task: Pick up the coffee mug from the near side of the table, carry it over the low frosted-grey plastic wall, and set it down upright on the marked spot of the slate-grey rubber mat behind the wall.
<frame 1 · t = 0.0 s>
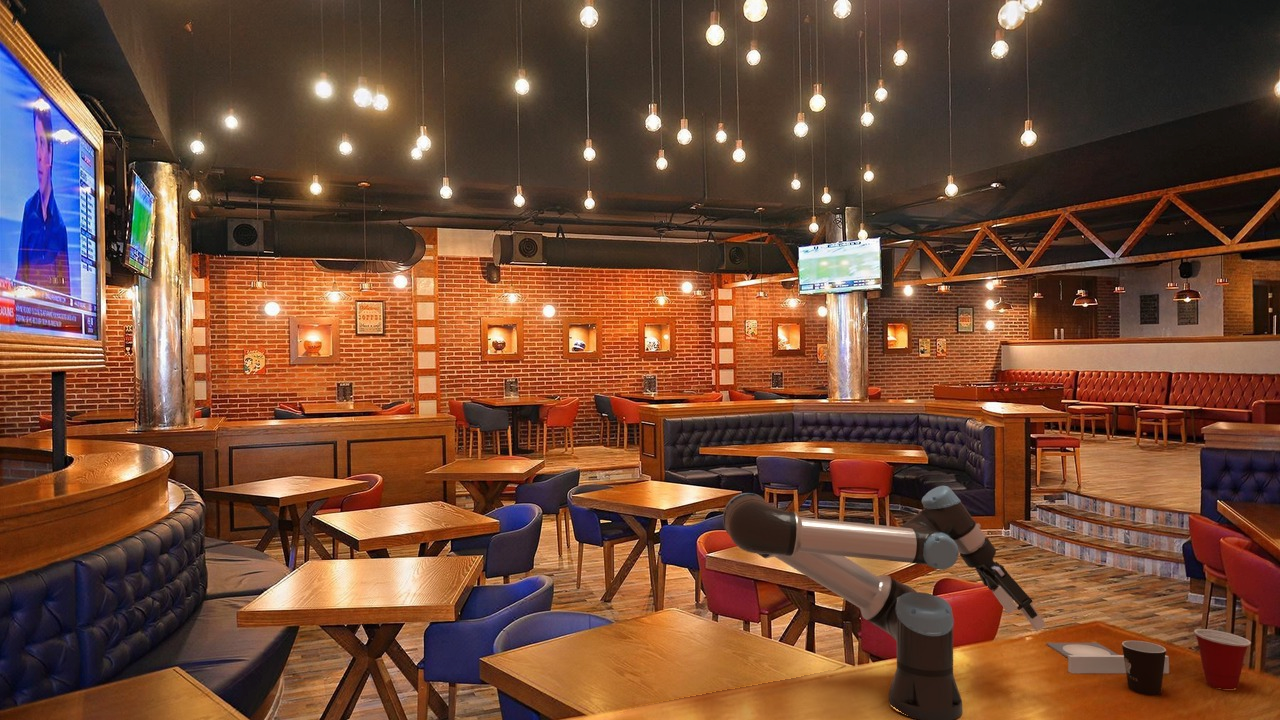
hand: (1026, 618, 188), 15 cm above the table, tool tilted 35°, fingers open, 13 cm apart
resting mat: (1086, 653, 209), on the table
plastic cup: (1223, 687, 186), on the table
low wall: (1118, 672, 195), on the table
coffee mug: (1144, 689, 185), on the table
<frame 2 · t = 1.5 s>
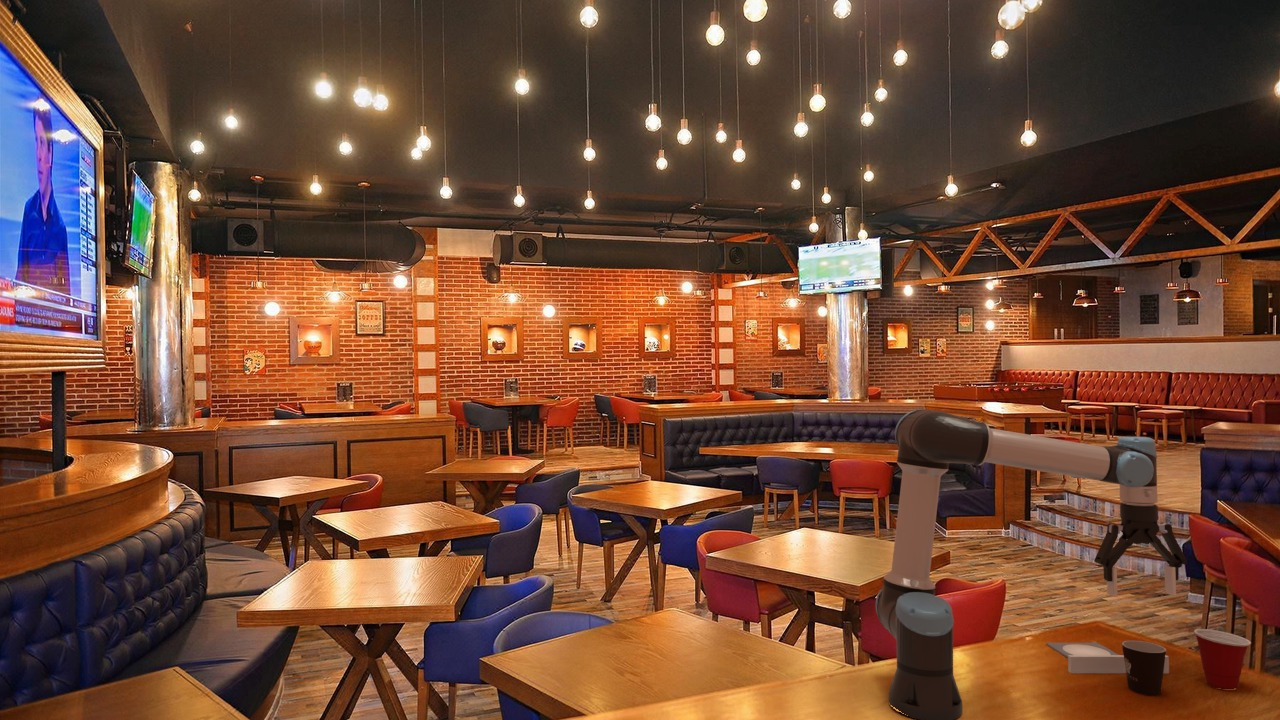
hand: (1141, 594, 186), 21 cm above the table, tool pointing down, fingers open, 13 cm apart
nothing on the table moved.
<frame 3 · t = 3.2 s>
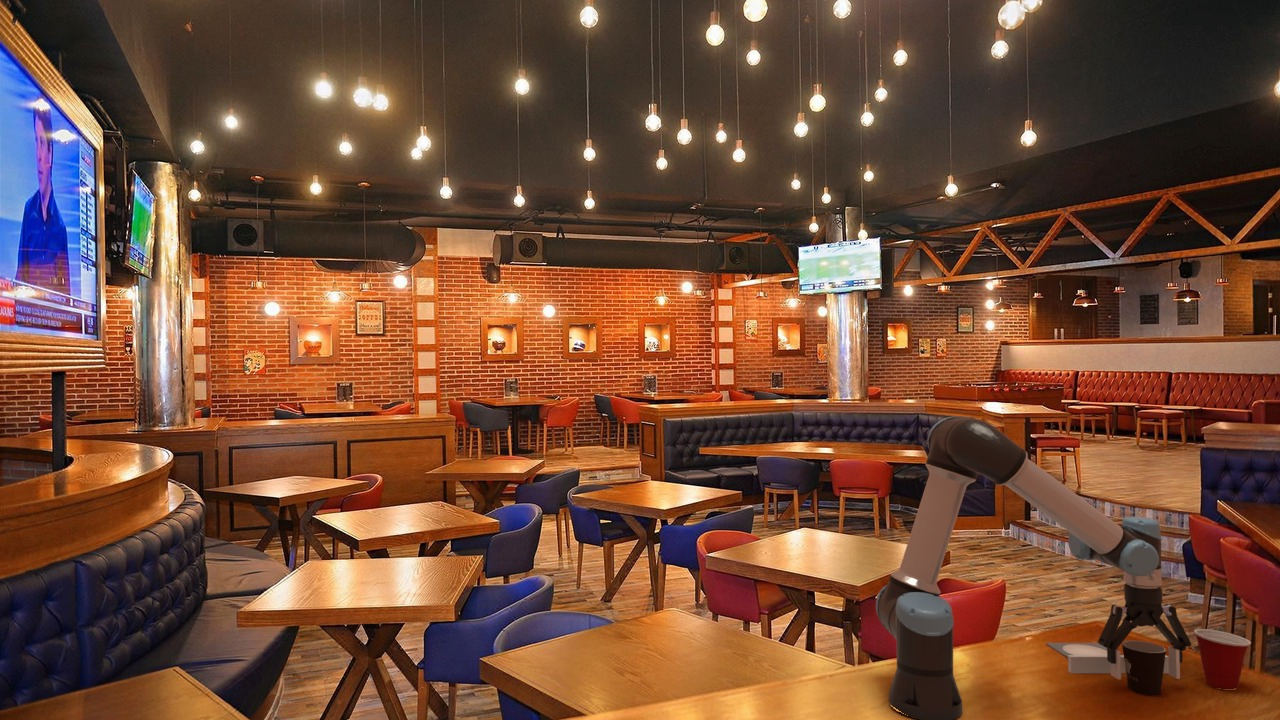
hand: (1145, 677, 185), 3 cm above the table, tool pointing down, fingers open, 13 cm apart
nothing on the table moved.
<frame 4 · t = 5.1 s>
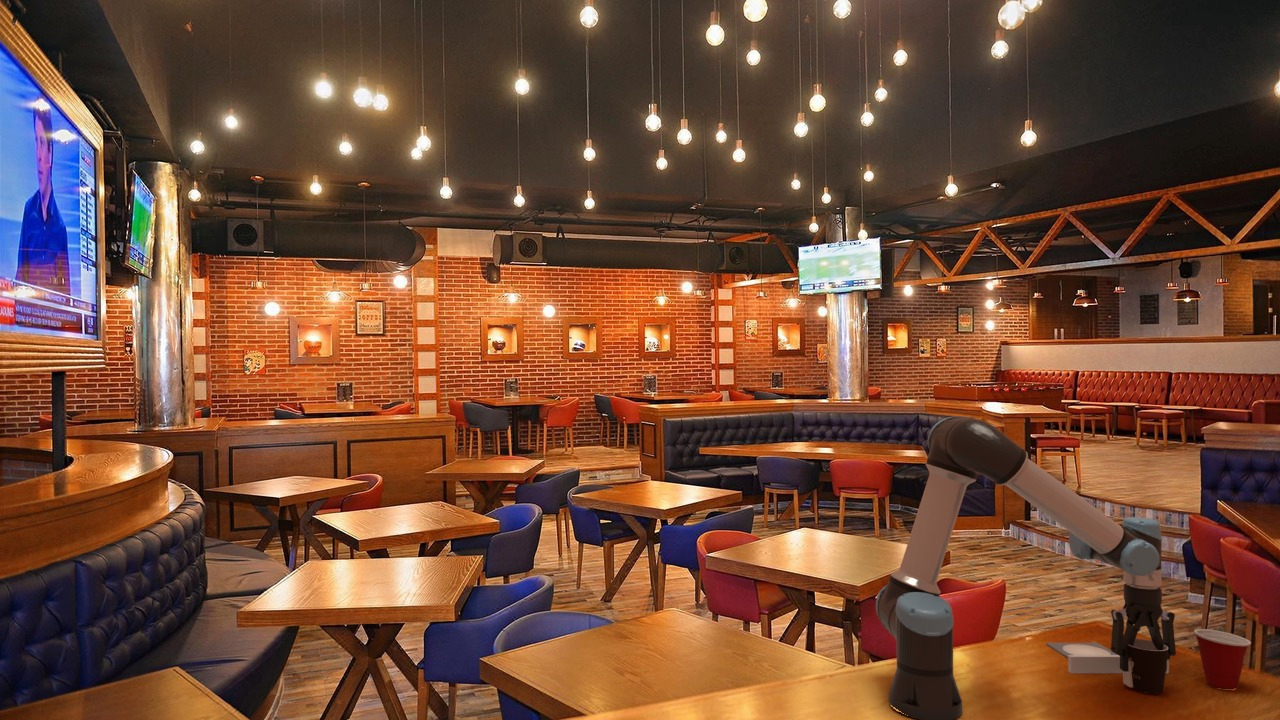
hand: (1143, 685, 185), 1 cm above the table, tool pointing down, fingers closed on coffee mug, 6 cm apart
coffee mug: (1146, 687, 185), on the table, touching gripper
everything else where it was.
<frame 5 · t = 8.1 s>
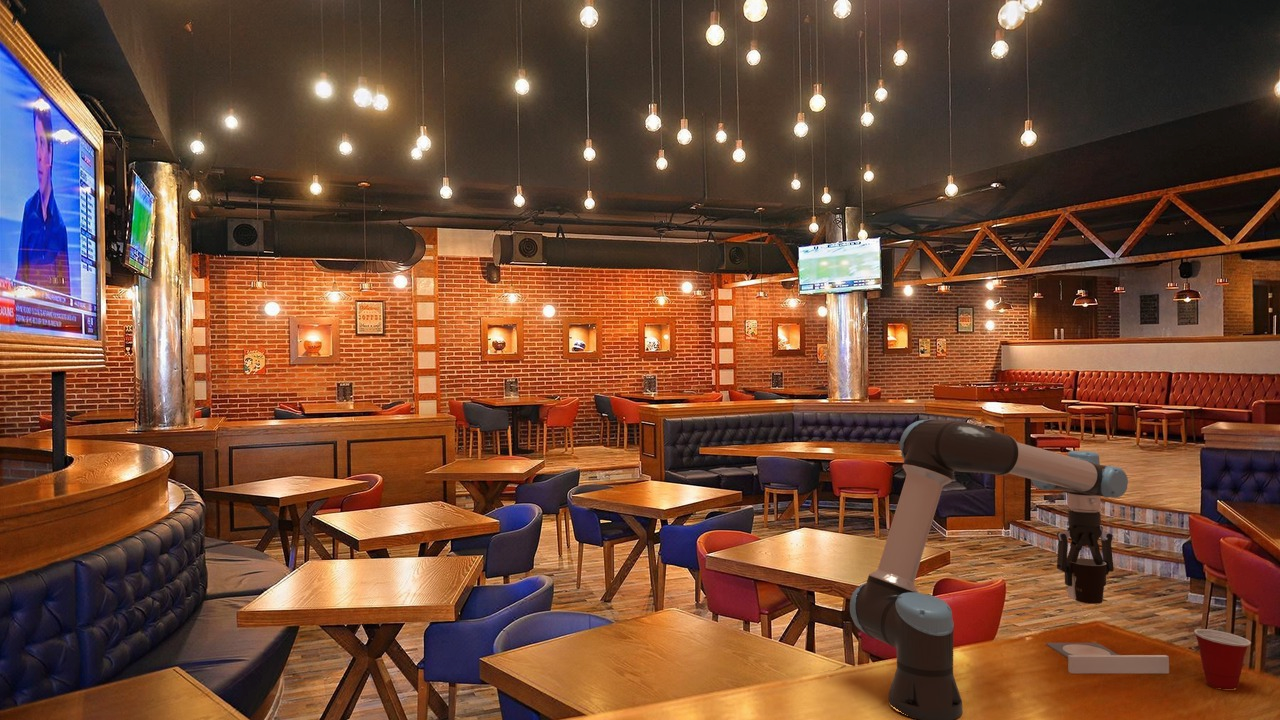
hand: (1085, 598, 209), 14 cm above the table, tool pointing down, fingers closed on coffee mug, 6 cm apart
coffee mug: (1088, 599, 210), point 14 cm above the table, touching gripper
everything else where it was.
when the fingers open (1 cm above the table, at t = 11.1 s): coffee mug stays where it is, resting on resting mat.
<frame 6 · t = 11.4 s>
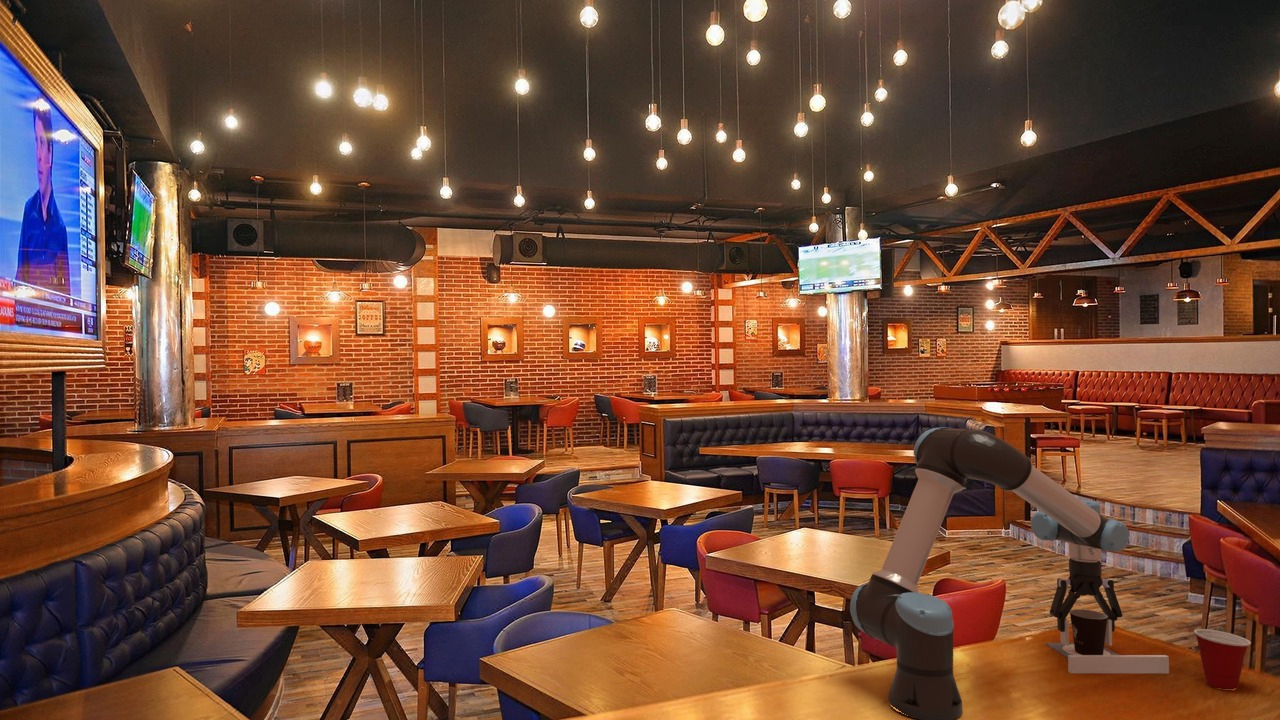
hand: (1086, 643, 209), 2 cm above the table, tool pointing down, fingers open, 10 cm apart
coffee mug: (1089, 651, 209), resting on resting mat
everything else where it was.
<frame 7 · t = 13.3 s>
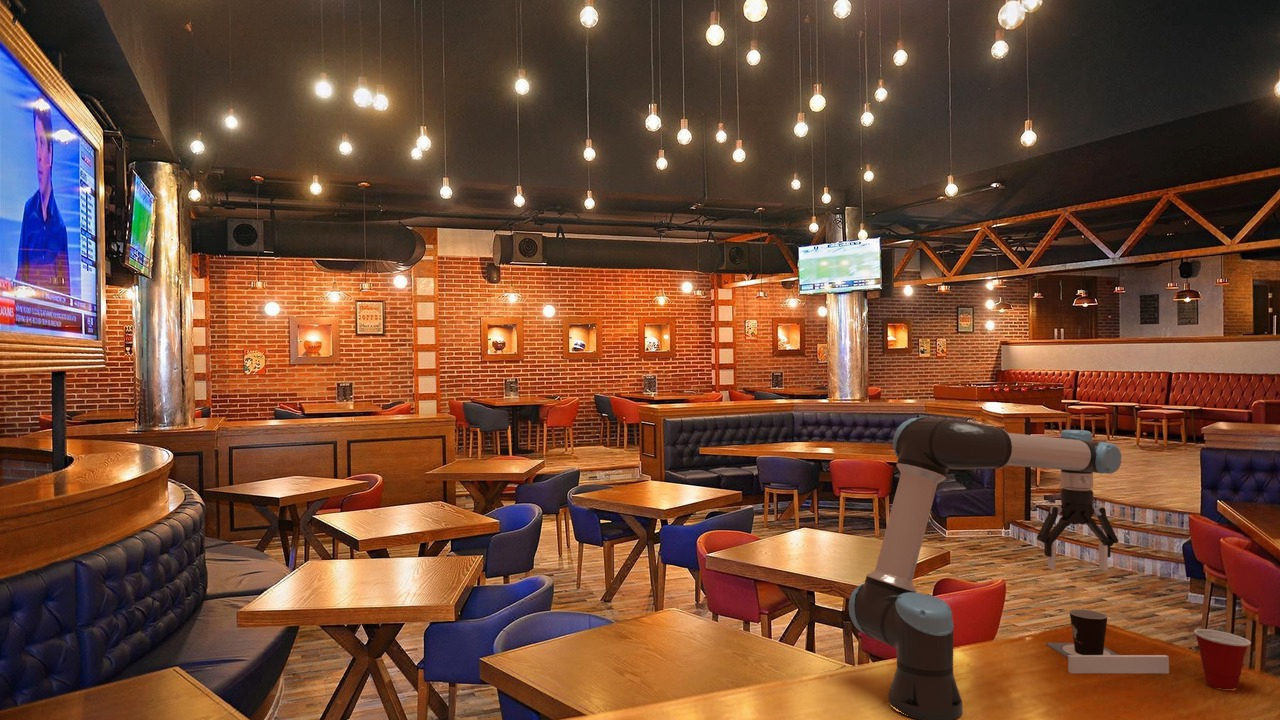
hand: (1077, 569, 210), 22 cm above the table, tool pointing down, fingers open, 13 cm apart
nothing on the table moved.
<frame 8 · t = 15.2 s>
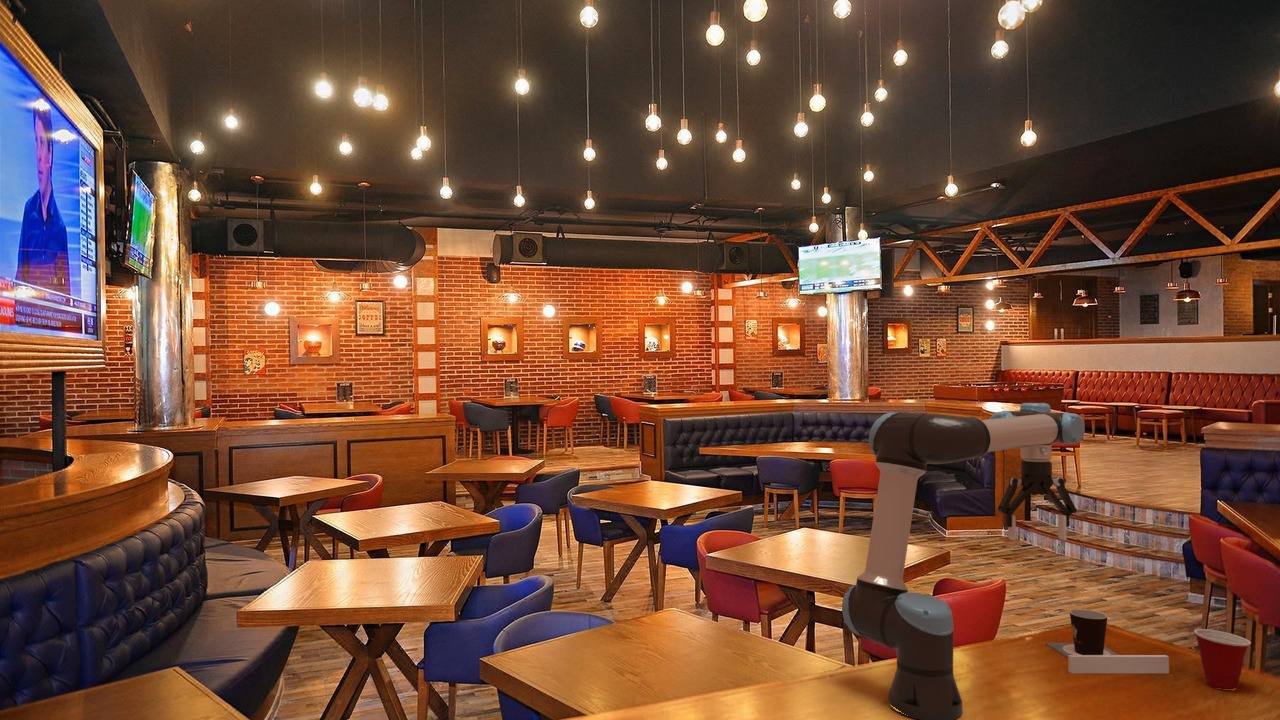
hand: (1037, 539, 215), 29 cm above the table, tool pointing down, fingers open, 13 cm apart
nothing on the table moved.
at the end: coffee mug inside the target area on the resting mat (0.8 cm from its centre), point 0.3 cm above the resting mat's base; coffee mug tilted 0°; the gripper is holding nothing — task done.
